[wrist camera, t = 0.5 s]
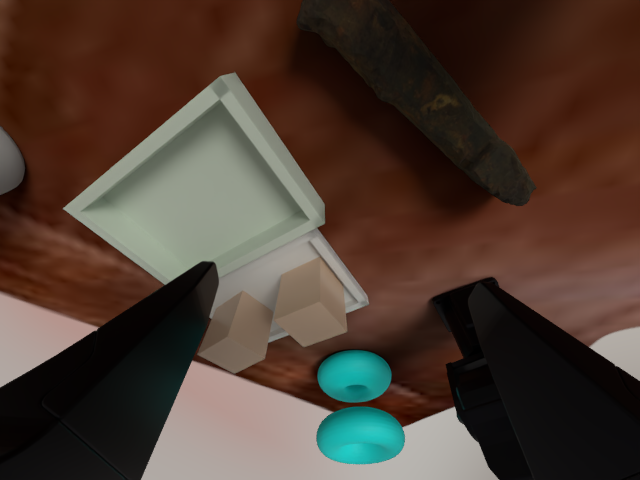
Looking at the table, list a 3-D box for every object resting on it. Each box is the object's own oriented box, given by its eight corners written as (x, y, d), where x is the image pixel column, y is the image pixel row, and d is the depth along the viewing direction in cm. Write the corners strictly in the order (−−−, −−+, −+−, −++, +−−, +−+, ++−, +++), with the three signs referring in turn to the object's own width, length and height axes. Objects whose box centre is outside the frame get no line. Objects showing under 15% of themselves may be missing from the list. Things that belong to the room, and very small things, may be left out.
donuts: (427, 451, 28) (364, 472, 33) (404, 362, 36) (356, 389, 41) (357, 429, 25) (298, 456, 30) (348, 335, 33) (303, 369, 38)
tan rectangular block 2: (343, 285, 27) (347, 331, 22) (306, 300, 28) (303, 347, 24) (320, 256, 25) (319, 301, 20) (281, 274, 26) (273, 320, 22)
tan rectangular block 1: (273, 311, 30) (265, 358, 25) (247, 327, 31) (234, 373, 27) (242, 290, 28) (227, 336, 23) (216, 308, 29) (197, 354, 25)
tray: (367, 295, 29) (369, 304, 28) (253, 340, 34) (251, 348, 33) (313, 222, 23) (312, 229, 22) (187, 288, 28) (182, 297, 27)
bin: (324, 204, 22) (324, 223, 20) (194, 274, 27) (181, 297, 25) (235, 72, 17) (220, 76, 14) (92, 190, 22) (62, 208, 19)
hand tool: (294, 20, 15) (284, 12, 12) (341, -56, 14) (348, -95, 10) (469, 207, 23) (498, 239, 19) (515, 174, 21) (557, 202, 17)
